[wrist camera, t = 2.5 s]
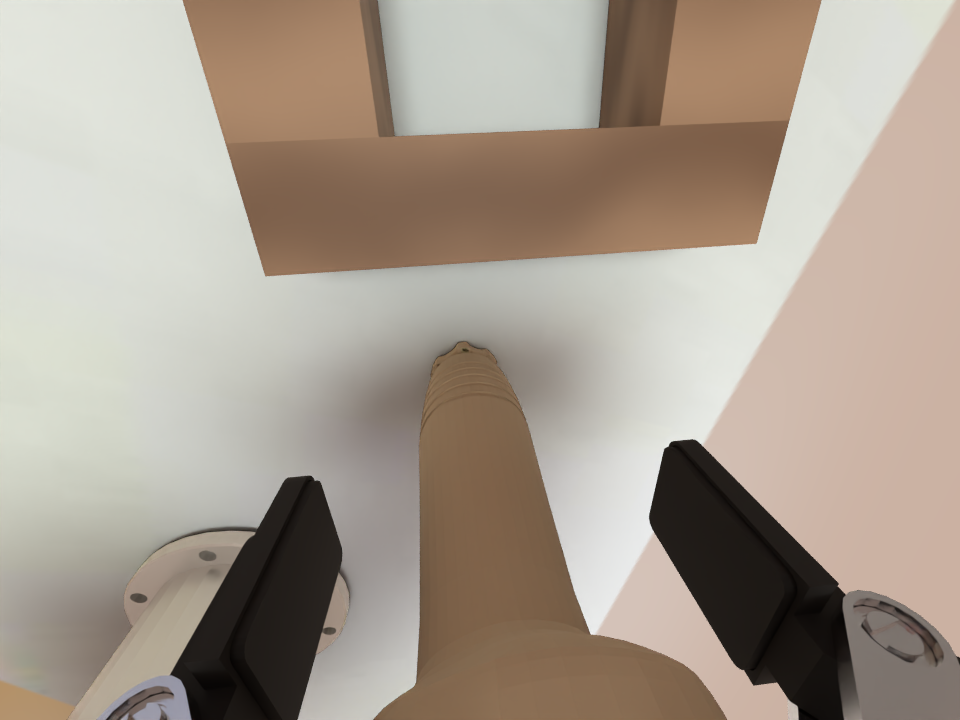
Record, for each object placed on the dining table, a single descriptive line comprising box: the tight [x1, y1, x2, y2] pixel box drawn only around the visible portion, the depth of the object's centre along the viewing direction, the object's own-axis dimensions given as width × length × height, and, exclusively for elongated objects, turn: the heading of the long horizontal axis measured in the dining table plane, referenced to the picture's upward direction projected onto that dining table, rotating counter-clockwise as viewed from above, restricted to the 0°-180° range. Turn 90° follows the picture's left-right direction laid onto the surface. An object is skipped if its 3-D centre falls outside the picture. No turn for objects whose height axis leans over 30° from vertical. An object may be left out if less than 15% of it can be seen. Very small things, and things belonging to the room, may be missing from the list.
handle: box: [373, 342, 727, 720], centre depth 11 cm, size 5×6×15 cm
